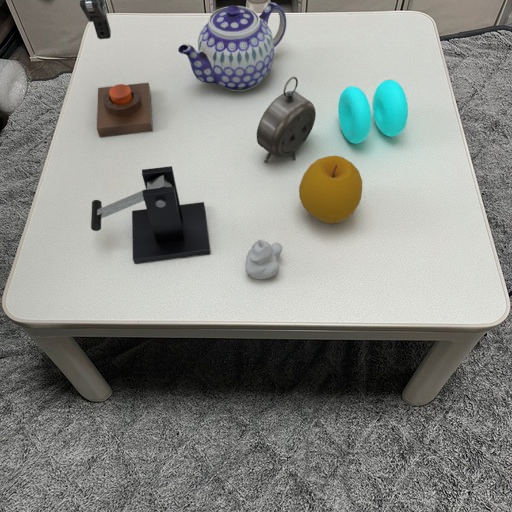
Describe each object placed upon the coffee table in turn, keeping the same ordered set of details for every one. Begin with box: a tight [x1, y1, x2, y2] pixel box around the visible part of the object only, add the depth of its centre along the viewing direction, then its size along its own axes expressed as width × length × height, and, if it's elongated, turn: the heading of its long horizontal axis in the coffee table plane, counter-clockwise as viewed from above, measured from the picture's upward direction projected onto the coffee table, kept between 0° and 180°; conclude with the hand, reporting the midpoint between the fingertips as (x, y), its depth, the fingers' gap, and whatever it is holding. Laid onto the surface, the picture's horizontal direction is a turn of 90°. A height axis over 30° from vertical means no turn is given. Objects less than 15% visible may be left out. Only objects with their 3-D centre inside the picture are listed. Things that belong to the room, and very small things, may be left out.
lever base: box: [131, 165, 211, 265], centre depth 79 cm, size 12×10×13 cm
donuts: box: [337, 79, 409, 144], centre depth 93 cm, size 10×10×10 cm
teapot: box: [177, 2, 287, 92], centre depth 101 cm, size 25×15×15 cm, turn 125°
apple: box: [298, 155, 363, 224], centre depth 81 cm, size 10×10×12 cm
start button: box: [109, 83, 132, 105], centre depth 97 cm, size 4×4×2 cm
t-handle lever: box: [90, 175, 172, 232], centre depth 76 cm, size 13×5×2 cm, turn 99°
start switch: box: [96, 82, 154, 138], centre depth 99 cm, size 10×12×4 cm
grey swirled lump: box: [245, 239, 283, 280], centre depth 77 cm, size 5×7×8 cm
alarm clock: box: [256, 76, 317, 164], centre depth 87 cm, size 11×5×16 cm, turn 135°
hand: (104, 36), depth 87 cm, fingers closed
